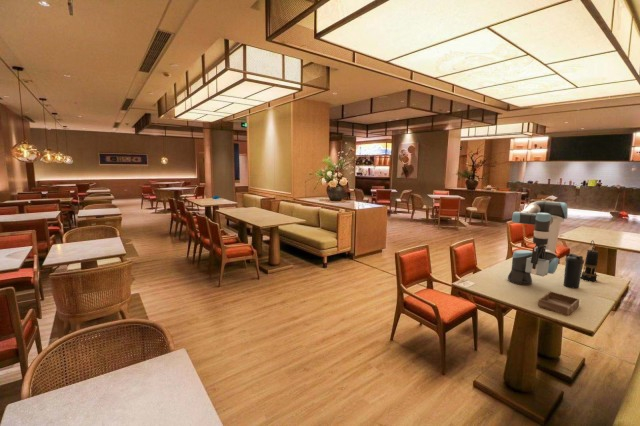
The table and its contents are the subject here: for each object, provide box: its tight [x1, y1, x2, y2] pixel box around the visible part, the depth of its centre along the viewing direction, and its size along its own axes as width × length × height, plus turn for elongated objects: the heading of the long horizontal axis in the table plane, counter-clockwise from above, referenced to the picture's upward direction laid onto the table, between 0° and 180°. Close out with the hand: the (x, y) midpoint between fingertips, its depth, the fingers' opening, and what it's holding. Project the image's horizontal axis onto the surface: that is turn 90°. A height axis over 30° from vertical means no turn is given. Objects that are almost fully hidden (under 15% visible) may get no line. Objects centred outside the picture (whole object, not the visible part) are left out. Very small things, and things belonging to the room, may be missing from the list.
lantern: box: [580, 240, 600, 283], centre depth 231 cm, size 9×9×30 cm
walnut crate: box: [537, 291, 580, 317], centre depth 190 cm, size 20×15×4 cm
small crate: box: [525, 257, 549, 277], centre depth 198 cm, size 7×10×9 cm
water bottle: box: [563, 253, 585, 289], centre depth 219 cm, size 10×10×23 cm
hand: (536, 272), depth 199 cm, fingers closed on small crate, 7 cm apart
